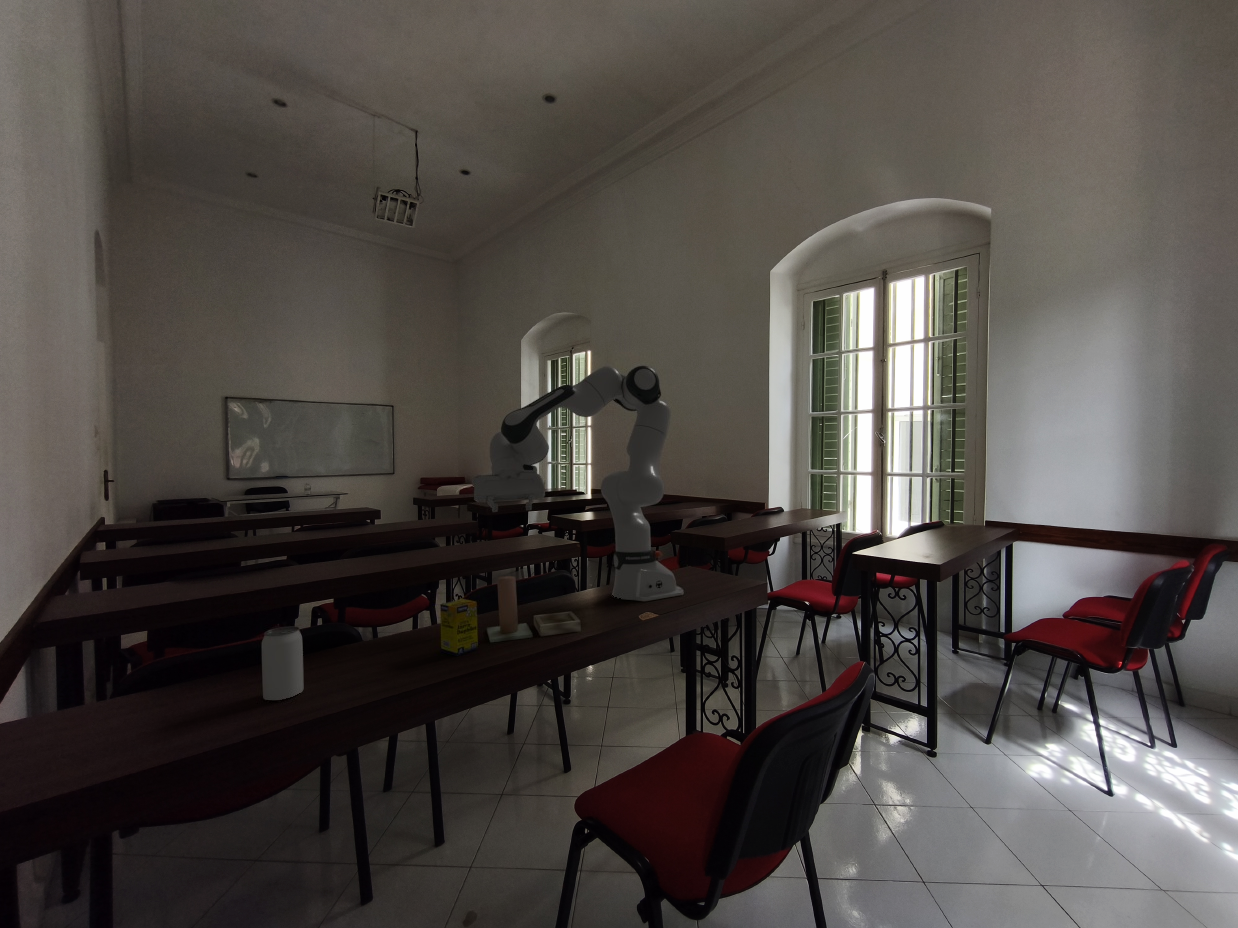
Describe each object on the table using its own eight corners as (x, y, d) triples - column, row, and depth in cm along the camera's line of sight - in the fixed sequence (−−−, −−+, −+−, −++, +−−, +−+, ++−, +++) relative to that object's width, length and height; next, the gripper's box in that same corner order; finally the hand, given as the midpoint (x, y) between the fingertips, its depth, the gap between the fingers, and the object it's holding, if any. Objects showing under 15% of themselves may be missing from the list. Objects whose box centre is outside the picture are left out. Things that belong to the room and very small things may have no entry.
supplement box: (457, 656, 121) (455, 607, 121) (440, 651, 124) (439, 603, 124) (478, 649, 125) (477, 601, 125) (462, 644, 129) (461, 598, 129)
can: (282, 687, 106) (280, 625, 106) (311, 688, 105) (309, 625, 105) (254, 701, 100) (252, 635, 100) (285, 703, 99) (283, 636, 99)
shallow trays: (571, 620, 146) (571, 611, 146) (580, 631, 137) (580, 621, 137) (486, 630, 139) (486, 620, 139) (490, 642, 130) (490, 631, 130)
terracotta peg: (516, 626, 139) (513, 575, 139) (519, 631, 135) (516, 578, 135) (498, 629, 137) (496, 577, 137) (501, 634, 133) (498, 580, 133)
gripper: (471, 468, 159) (474, 503, 149) (541, 466, 165) (549, 500, 156) (471, 483, 163) (474, 518, 154) (539, 480, 169) (546, 514, 160)
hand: (512, 509), depth 155 cm, fingers open, 8 cm apart
